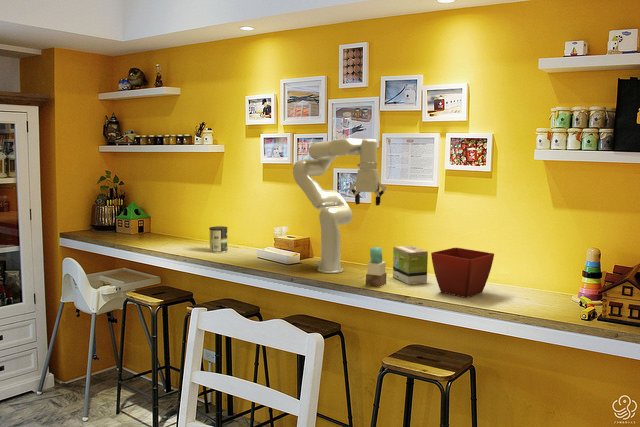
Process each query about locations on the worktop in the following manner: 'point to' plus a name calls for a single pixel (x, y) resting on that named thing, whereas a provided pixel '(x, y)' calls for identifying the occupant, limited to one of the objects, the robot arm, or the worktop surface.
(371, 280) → the walnut base block
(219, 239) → the coffee can
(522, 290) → the worktop surface
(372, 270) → the cream block
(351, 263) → the worktop surface
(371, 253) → the teal block
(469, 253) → the plant pot
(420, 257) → the tea box
